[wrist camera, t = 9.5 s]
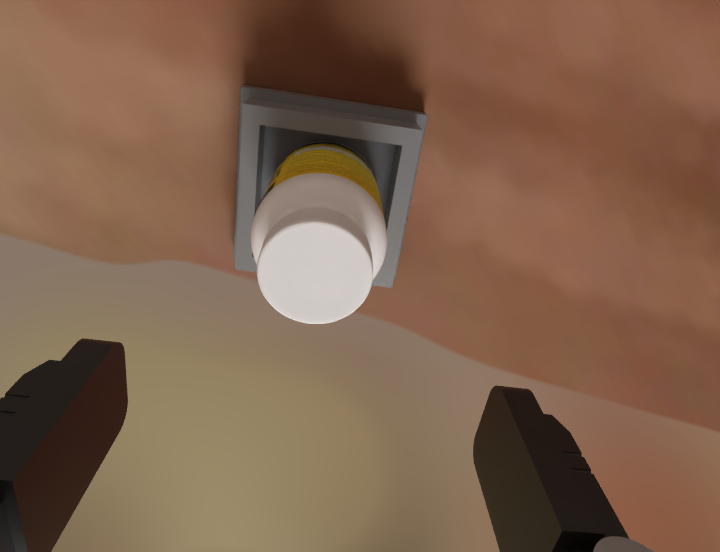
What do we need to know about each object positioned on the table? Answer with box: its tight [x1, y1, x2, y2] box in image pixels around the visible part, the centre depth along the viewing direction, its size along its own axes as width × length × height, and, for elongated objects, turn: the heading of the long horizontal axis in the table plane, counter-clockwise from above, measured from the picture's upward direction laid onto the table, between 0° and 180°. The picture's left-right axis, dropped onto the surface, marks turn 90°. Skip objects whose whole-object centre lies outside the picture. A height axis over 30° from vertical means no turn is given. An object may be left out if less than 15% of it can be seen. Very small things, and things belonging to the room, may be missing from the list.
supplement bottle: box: [251, 141, 387, 324], centre depth 21 cm, size 5×5×10 cm
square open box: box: [233, 85, 428, 288], centre depth 25 cm, size 9×9×3 cm
